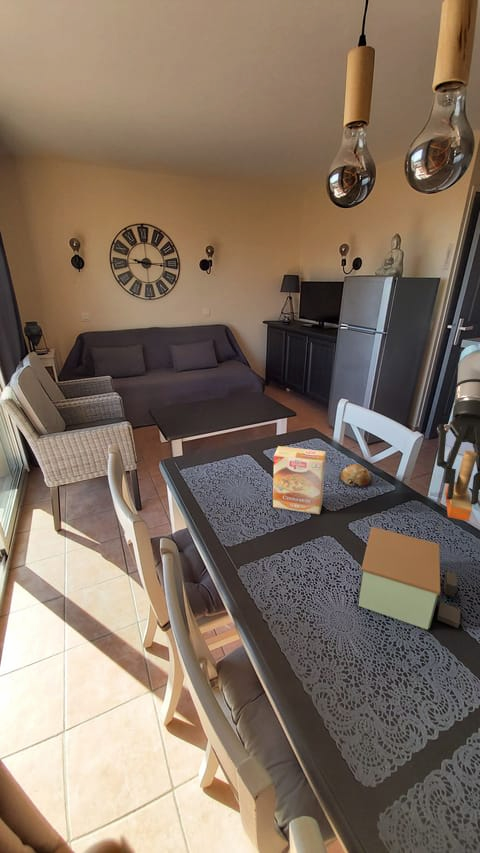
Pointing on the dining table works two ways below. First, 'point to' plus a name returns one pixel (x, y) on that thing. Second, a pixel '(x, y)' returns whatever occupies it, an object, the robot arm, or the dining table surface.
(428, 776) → the dining table surface
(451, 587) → the block
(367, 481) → the bread roll
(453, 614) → the dust pad
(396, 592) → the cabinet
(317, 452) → the coffeecake box
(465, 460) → the brush
